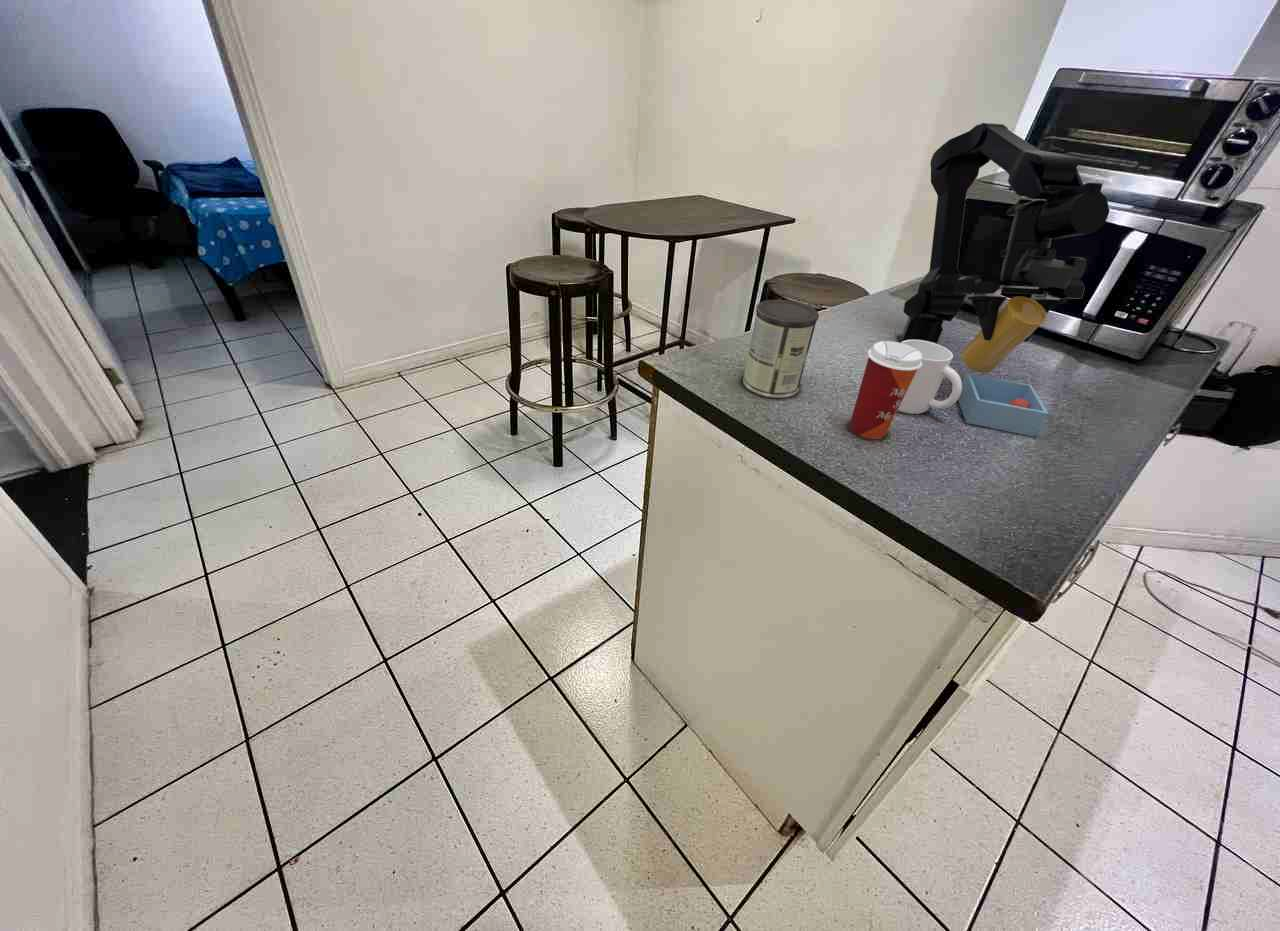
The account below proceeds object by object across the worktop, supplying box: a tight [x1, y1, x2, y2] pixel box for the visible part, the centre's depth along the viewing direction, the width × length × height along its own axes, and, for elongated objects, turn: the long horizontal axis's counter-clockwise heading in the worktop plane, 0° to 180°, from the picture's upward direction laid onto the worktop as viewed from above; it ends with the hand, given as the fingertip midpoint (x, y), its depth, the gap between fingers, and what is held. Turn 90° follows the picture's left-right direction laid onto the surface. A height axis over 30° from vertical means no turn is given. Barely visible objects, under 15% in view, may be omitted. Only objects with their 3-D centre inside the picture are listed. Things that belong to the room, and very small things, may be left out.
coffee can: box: [742, 299, 820, 399], centre depth 92 cm, size 10×10×14 cm
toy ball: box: [1009, 399, 1029, 409], centre depth 90 cm, size 3×3×3 cm
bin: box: [957, 373, 1049, 437], centre depth 91 cm, size 10×10×4 cm
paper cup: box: [849, 340, 922, 440], centre depth 81 cm, size 8×8×14 cm
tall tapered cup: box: [960, 295, 1048, 374], centre depth 90 cm, size 6×6×12 cm
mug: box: [897, 340, 963, 415], centre depth 89 cm, size 12×8×10 cm
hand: (1005, 340), depth 89 cm, fingers closed on tall tapered cup, 6 cm apart
